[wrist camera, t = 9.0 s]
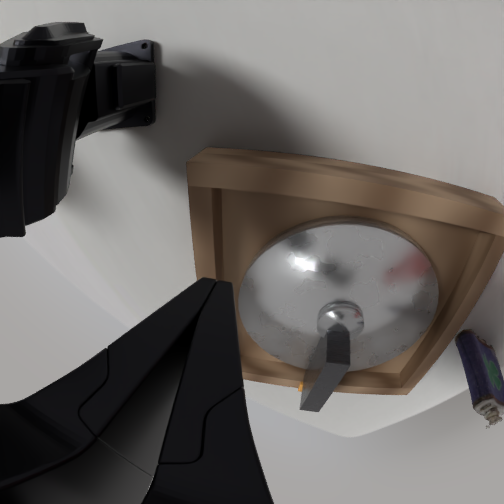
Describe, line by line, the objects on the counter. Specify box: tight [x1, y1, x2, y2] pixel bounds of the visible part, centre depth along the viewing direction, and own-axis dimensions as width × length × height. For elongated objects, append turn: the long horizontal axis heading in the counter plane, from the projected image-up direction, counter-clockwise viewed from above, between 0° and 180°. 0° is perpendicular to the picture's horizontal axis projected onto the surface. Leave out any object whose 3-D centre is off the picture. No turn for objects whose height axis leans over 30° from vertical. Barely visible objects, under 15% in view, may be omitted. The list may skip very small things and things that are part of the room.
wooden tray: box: [186, 147, 504, 395], centre depth 22 cm, size 22×22×4 cm
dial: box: [238, 216, 439, 412], centre depth 20 cm, size 17×16×5 cm
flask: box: [455, 329, 504, 428], centre depth 20 cm, size 9×3×11 cm, turn 62°
